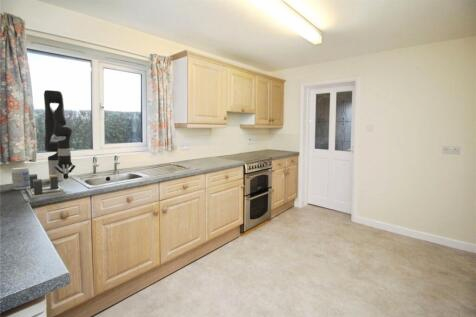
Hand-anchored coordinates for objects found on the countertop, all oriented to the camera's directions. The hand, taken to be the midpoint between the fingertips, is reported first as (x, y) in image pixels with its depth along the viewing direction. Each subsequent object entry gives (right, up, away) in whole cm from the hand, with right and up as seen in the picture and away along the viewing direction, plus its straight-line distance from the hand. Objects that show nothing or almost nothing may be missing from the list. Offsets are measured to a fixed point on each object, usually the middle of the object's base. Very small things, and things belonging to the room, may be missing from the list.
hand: (65, 178), depth 183 cm
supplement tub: (-32, -7, +1) cm, 33 cm away
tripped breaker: (-5, -6, -4) cm, 9 cm away
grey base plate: (-9, -8, -8) cm, 14 cm away
